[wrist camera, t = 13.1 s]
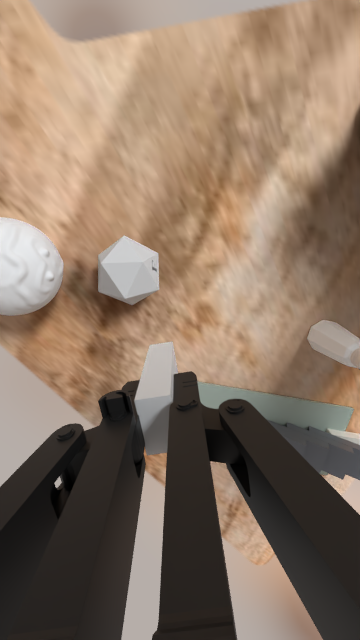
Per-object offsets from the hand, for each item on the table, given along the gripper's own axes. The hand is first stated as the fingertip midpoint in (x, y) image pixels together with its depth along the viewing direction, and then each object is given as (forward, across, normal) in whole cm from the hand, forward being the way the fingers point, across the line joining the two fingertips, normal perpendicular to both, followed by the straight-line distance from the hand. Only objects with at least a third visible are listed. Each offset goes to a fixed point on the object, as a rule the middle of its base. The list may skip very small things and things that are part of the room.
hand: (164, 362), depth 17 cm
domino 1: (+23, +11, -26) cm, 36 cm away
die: (+25, -5, +5) cm, 26 cm away
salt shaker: (+25, +23, -10) cm, 35 cm away
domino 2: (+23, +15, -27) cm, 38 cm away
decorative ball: (+25, -19, +8) cm, 32 cm away
